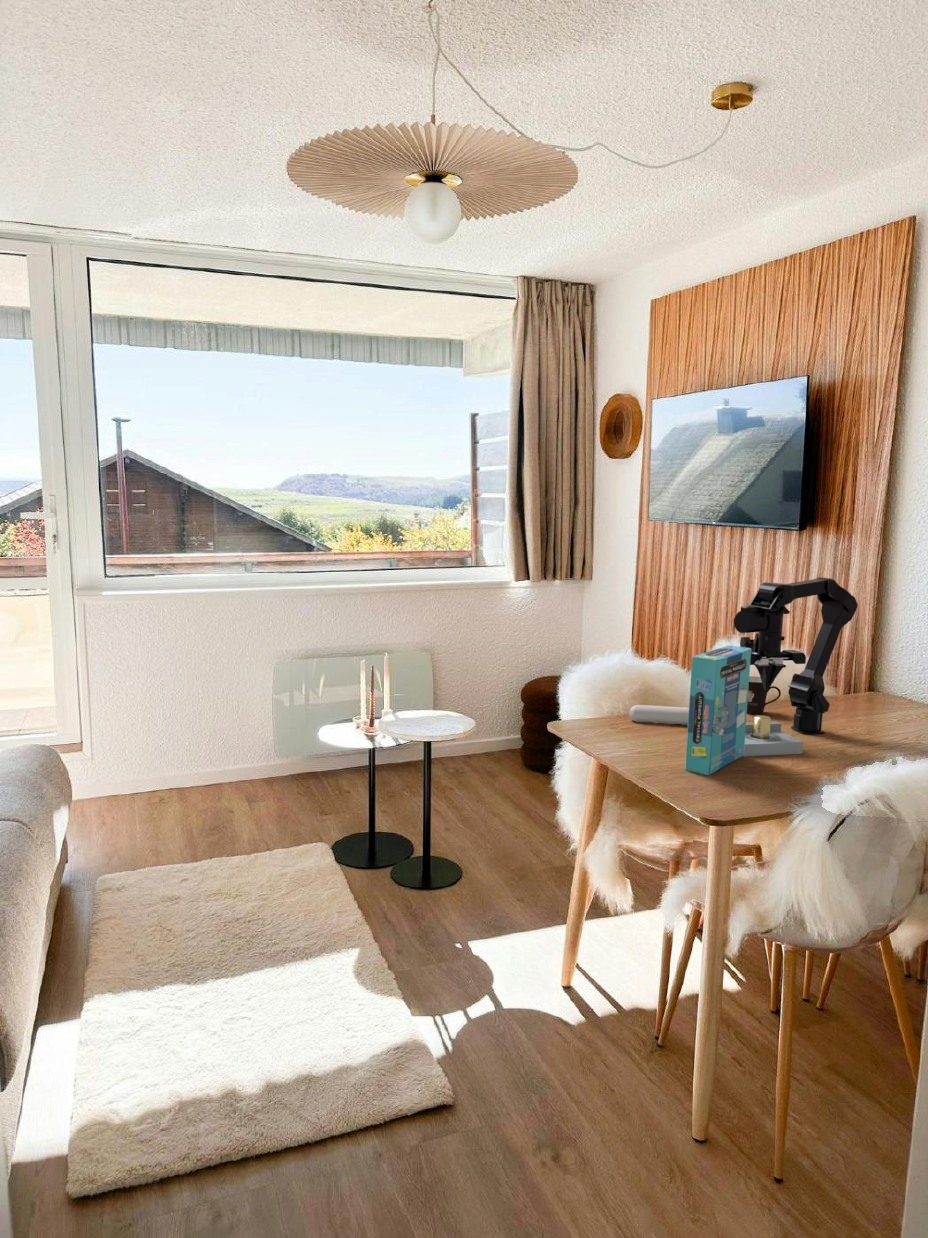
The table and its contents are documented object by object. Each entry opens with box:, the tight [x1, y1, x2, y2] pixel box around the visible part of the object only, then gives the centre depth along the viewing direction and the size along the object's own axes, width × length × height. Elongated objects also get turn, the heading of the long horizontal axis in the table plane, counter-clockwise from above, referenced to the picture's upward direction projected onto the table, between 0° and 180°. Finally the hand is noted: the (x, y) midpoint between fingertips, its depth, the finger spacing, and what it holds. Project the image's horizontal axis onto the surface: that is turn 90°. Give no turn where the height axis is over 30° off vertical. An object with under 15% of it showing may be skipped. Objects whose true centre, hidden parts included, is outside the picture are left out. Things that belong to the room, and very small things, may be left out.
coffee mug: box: [747, 675, 782, 716], centre depth 256 cm, size 12×9×10 cm
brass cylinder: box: [753, 714, 772, 740], centre depth 220 cm, size 4×4×8 cm
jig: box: [743, 721, 804, 757], centre depth 220 cm, size 16×12×5 cm
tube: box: [629, 704, 689, 726], centre depth 243 cm, size 5×5×25 cm
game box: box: [684, 645, 751, 776], centre depth 205 cm, size 20×6×27 cm, turn 140°
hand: (766, 689), depth 229 cm, fingers closed
